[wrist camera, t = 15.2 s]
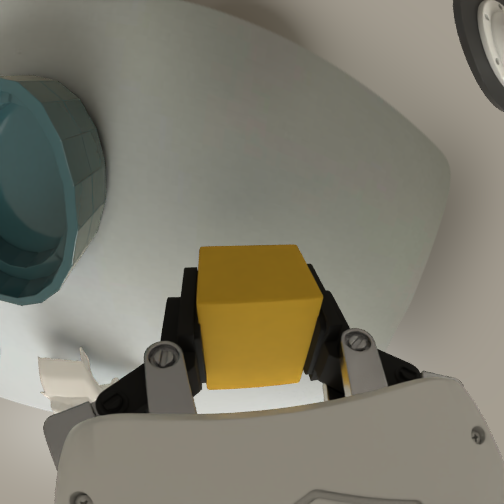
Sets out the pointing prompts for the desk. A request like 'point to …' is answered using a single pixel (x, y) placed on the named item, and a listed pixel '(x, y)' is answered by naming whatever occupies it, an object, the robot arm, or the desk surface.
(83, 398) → the figurine
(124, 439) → the robot arm
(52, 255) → the bowl
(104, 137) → the desk surface
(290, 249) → the yellow block
